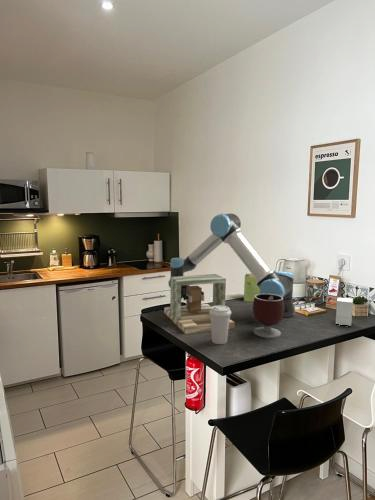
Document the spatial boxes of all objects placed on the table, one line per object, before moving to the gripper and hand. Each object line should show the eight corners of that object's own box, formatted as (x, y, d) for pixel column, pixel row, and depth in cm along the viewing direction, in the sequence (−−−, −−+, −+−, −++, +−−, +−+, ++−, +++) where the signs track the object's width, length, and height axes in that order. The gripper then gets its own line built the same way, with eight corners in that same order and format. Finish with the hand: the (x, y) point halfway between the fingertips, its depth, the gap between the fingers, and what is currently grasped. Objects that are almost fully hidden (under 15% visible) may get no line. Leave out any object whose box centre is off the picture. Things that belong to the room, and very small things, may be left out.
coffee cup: (207, 337, 173) (207, 305, 171) (228, 337, 173) (229, 304, 171) (210, 345, 163) (210, 311, 161) (232, 345, 164) (233, 311, 162)
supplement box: (351, 323, 196) (353, 298, 195) (351, 327, 190) (352, 302, 188) (336, 320, 199) (337, 296, 198) (335, 325, 193) (336, 300, 191)
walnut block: (201, 310, 199) (201, 288, 197) (190, 311, 197) (190, 288, 195) (196, 307, 205) (197, 285, 203) (186, 308, 203) (186, 286, 201)
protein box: (269, 303, 232) (270, 277, 229) (243, 301, 235) (244, 276, 233) (269, 298, 242) (270, 274, 240) (244, 296, 245) (245, 272, 243)
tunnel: (234, 328, 185) (235, 283, 182) (185, 333, 177) (186, 286, 174) (207, 308, 217) (207, 270, 214) (164, 312, 209) (164, 272, 206)
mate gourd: (250, 327, 187) (251, 287, 184) (279, 328, 187) (281, 287, 184) (254, 339, 172) (256, 295, 169) (286, 340, 171) (288, 296, 168)
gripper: (197, 294, 220) (214, 304, 199) (165, 296, 214) (179, 307, 192) (198, 281, 219) (214, 290, 198) (166, 283, 213) (179, 293, 191)
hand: (197, 299), depth 195 cm, fingers closed on walnut block, 6 cm apart
